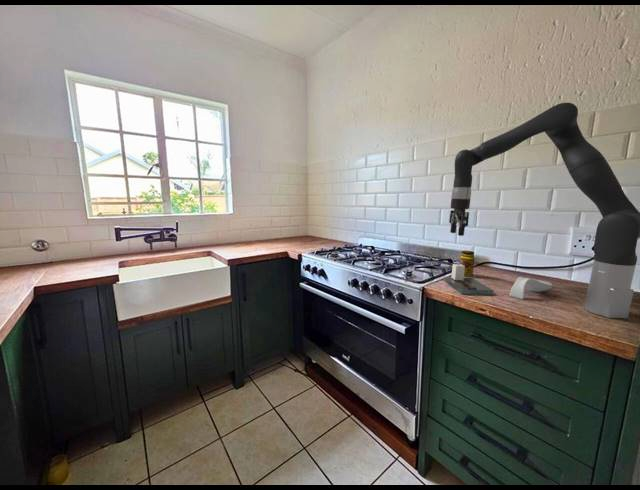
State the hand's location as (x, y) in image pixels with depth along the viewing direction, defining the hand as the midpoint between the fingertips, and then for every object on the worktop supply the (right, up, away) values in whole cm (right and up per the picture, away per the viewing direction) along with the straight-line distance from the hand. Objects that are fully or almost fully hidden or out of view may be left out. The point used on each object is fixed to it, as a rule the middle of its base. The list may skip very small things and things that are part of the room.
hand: (456, 234), depth 122 cm
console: (0, -23, -9) cm, 25 cm away
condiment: (+10, -20, +10) cm, 24 cm away
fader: (-2, -20, -4) cm, 20 cm away
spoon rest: (+22, -24, -13) cm, 35 cm away
